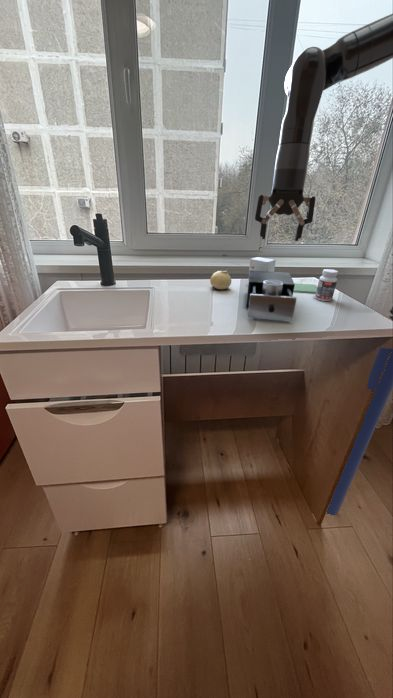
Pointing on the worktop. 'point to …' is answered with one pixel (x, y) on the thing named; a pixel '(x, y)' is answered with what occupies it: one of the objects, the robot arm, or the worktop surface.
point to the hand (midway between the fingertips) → (279, 239)
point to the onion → (220, 280)
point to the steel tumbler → (272, 287)
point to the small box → (262, 264)
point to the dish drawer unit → (261, 276)
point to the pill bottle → (326, 285)
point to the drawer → (271, 304)
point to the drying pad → (305, 288)
